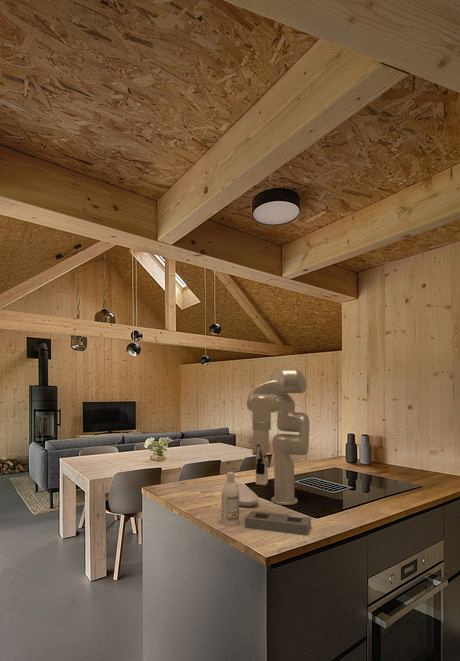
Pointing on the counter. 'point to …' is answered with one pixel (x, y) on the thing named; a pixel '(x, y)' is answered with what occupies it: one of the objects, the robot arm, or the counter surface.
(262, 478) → the plug
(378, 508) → the counter surface
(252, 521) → the socket block
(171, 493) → the counter surface
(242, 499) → the spoon rest
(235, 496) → the bath foam
